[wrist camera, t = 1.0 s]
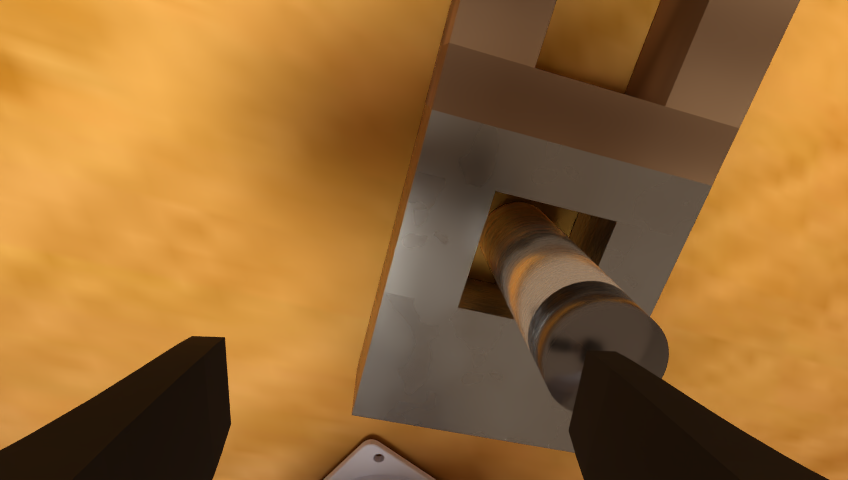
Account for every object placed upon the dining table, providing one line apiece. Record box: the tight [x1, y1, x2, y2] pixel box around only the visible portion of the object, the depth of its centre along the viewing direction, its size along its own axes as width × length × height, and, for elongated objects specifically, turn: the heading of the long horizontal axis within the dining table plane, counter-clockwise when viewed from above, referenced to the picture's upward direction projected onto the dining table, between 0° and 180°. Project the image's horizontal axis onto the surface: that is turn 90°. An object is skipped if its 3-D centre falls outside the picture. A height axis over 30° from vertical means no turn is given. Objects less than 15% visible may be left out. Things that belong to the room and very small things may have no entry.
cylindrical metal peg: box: [479, 202, 669, 412], centre depth 15 cm, size 3×3×9 cm
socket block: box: [352, 103, 712, 453], centre depth 19 cm, size 12×10×3 cm
